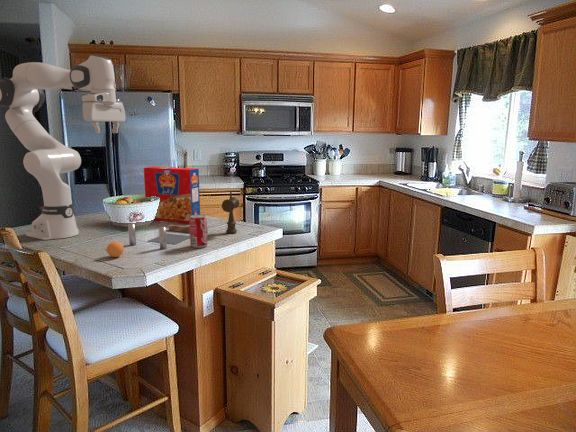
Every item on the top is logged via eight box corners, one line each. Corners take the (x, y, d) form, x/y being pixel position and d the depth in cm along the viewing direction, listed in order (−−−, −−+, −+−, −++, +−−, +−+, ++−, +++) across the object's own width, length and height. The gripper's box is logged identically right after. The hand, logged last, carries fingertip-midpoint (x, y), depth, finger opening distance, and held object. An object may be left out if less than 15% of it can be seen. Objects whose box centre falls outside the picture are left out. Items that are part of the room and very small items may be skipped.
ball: (103, 258, 160) (102, 242, 159) (115, 253, 166) (113, 239, 165) (116, 259, 159) (115, 244, 157) (127, 255, 164) (126, 240, 163)
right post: (158, 249, 173) (157, 227, 171) (162, 247, 176) (161, 226, 174) (164, 249, 172) (163, 228, 170) (167, 248, 175) (166, 226, 173)
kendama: (222, 234, 197) (221, 192, 193) (228, 230, 206) (227, 189, 202) (234, 235, 196) (233, 192, 192) (240, 230, 205) (240, 189, 201)
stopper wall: (168, 230, 204) (168, 225, 204) (171, 229, 206) (170, 224, 205) (205, 234, 198) (205, 228, 197) (207, 233, 199) (207, 228, 199)
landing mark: (147, 241, 185) (147, 240, 184) (166, 233, 198) (166, 233, 197) (175, 244, 180) (175, 243, 180) (192, 236, 193) (192, 236, 193)
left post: (128, 245, 178) (126, 224, 176) (132, 243, 180) (130, 223, 178) (133, 246, 177) (131, 225, 175) (137, 244, 180) (136, 223, 178)
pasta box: (146, 220, 227) (143, 167, 221) (156, 217, 234) (153, 166, 228) (192, 224, 217) (189, 169, 211) (200, 221, 224) (198, 168, 219)
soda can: (203, 249, 173) (202, 218, 171) (187, 248, 175) (186, 217, 172) (210, 244, 180) (209, 214, 178) (194, 243, 182) (193, 213, 179)
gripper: (115, 99, 181) (118, 132, 183) (78, 96, 162) (81, 133, 164) (128, 99, 179) (130, 133, 181) (91, 96, 160) (94, 133, 162)
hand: (106, 133), depth 173 cm, fingers open, 8 cm apart
